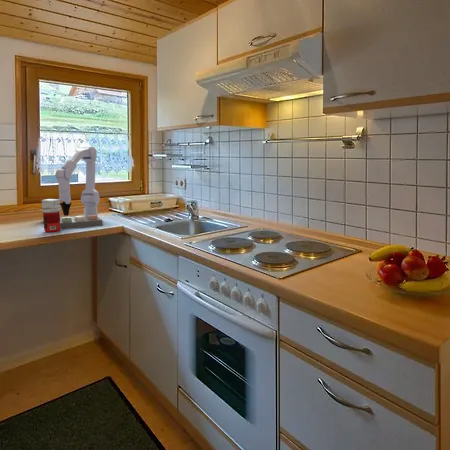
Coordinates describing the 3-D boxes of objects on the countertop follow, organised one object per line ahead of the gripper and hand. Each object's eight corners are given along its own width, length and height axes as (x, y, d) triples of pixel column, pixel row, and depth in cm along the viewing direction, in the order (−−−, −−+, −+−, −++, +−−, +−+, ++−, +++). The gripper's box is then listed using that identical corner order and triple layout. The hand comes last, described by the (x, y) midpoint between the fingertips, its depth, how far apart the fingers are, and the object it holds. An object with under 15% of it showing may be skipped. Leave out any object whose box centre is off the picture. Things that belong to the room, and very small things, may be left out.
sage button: (61, 222, 219) (61, 217, 219) (70, 221, 222) (69, 216, 221) (63, 223, 216) (62, 218, 215) (71, 223, 218) (71, 217, 217)
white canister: (42, 221, 235) (41, 200, 233) (50, 219, 242) (49, 198, 240) (53, 221, 234) (51, 200, 231) (61, 219, 241) (59, 199, 238)
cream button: (75, 221, 223) (74, 216, 222) (83, 220, 225) (82, 215, 225) (76, 222, 219) (76, 217, 219) (84, 221, 222) (84, 216, 221)
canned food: (64, 230, 208) (62, 209, 206) (53, 233, 200) (51, 211, 198) (52, 229, 210) (50, 209, 208) (41, 232, 203) (39, 211, 201)
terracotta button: (87, 220, 227) (87, 215, 226) (95, 219, 229) (95, 214, 228) (89, 221, 223) (89, 216, 222) (97, 220, 225) (97, 215, 225)
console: (57, 225, 222) (57, 220, 221) (97, 221, 233) (97, 216, 233) (61, 228, 212) (60, 223, 211) (102, 225, 223) (102, 219, 223)
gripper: (54, 190, 219) (56, 214, 222) (59, 192, 207) (60, 217, 210) (67, 189, 223) (69, 213, 226) (73, 191, 211) (74, 216, 213)
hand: (66, 215), depth 218 cm, fingers closed
